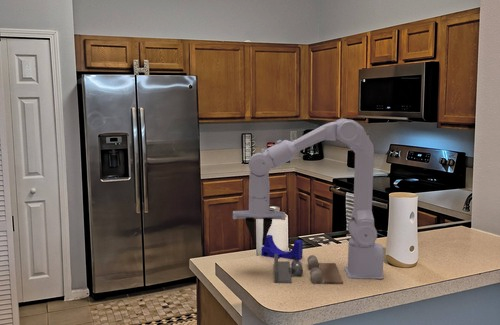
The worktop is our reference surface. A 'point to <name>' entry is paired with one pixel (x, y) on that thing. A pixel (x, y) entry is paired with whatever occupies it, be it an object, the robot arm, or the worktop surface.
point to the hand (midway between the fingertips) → (258, 244)
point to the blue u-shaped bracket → (272, 249)
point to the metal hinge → (286, 270)
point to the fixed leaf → (323, 272)
